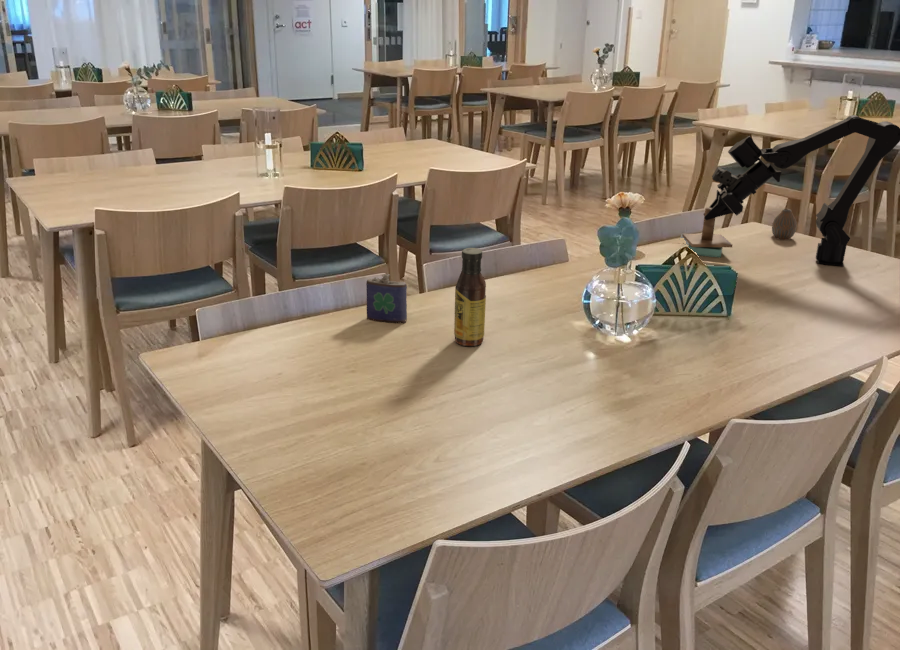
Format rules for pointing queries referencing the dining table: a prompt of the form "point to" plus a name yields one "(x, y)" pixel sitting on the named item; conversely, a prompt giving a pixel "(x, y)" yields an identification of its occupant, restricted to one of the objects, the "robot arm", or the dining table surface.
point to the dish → (707, 251)
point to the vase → (784, 225)
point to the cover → (707, 236)
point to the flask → (386, 300)
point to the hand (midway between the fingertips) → (704, 217)
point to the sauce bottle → (470, 300)
